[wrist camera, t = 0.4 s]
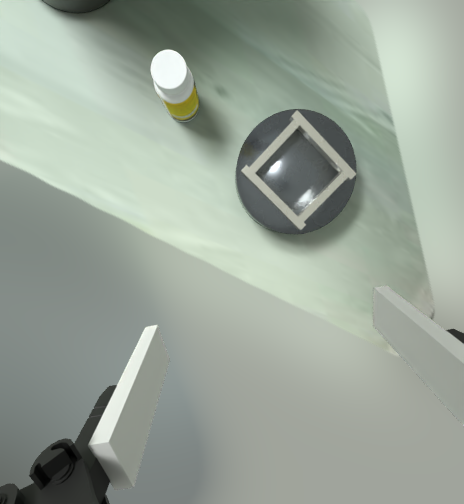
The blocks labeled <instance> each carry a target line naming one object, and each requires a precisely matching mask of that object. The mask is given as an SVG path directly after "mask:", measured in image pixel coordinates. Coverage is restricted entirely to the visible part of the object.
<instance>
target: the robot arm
mask: <svg viewBox="0 0 464 504" xmlns="http://www.w3.org/2000/svg"><path fill="white" fill-rule="evenodd" d="M43 1H44V2H45V3H47V4H49V5H50V6H52V7H54V8H57V9H59V10H62V11H66V12H74V13H81V12H88V11H92V10H95V9H97V8H99V7H101V6H103V5H104V4H106V3H107V2H108V1H110V0H43ZM373 327H374V328H375V329H376V330H377V331H378V332H379V333H380V334H381V335H382V337H383V338H384V339H385V340H386V341H387V342H388V343H389V344H390V345H391V346H392V348H393V349H394V350H395V351H396V352H397V353H398V354H399V355H400V356H401V358H402V359H403V360H404V361H405V362H406V363H407V364H408V365H409V366H410V367H411V369H412V370H413V371H414V372H415V373H416V374H417V375H418V376H419V377H420V378H421V380H422V381H423V382H424V383H425V384H426V385H427V386H428V387H429V389H430V390H431V391H432V392H433V393H434V394H435V395H436V396H437V397H438V398H439V400H440V401H441V402H442V403H443V404H444V405H445V406H446V407H447V408H448V410H449V411H450V412H451V413H452V414H453V415H454V416H455V417H456V418H457V419H458V421H459V422H460V423H461V424H462V425H463V426H464V333H462V332H459V331H457V330H455V329H450V330H445V329H443V328H442V327H440V326H439V325H438V324H437V323H436V322H434V321H433V320H432V319H430V318H429V317H428V316H426V315H425V314H424V313H422V312H421V311H420V310H418V309H417V308H416V307H414V306H413V305H412V304H411V303H409V302H408V301H407V300H405V299H404V298H403V297H401V296H400V295H399V294H397V293H396V292H395V291H393V290H392V289H391V288H389V287H388V286H387V285H385V286H379V287H374V288H373ZM169 361H170V358H169V355H168V353H167V350H166V347H165V344H164V342H163V338H162V336H161V333H160V330H159V327H158V325H155V326H149V327H146V328H145V330H144V331H143V333H142V336H141V338H140V340H139V342H138V344H137V346H136V348H135V350H134V352H133V354H132V356H131V358H130V360H129V363H128V364H127V366H126V368H125V371H124V372H123V374H122V376H121V379H120V381H119V383H118V385H113V386H109V387H108V388H107V389H106V390H105V391H104V392H103V393H102V395H101V396H100V397H99V399H98V401H97V403H96V405H95V406H94V409H93V410H92V412H91V414H90V416H89V418H88V419H87V421H86V423H85V425H84V427H83V428H82V430H81V432H80V434H79V436H78V438H77V440H76V441H75V443H73V442H72V441H71V439H62V440H58V441H57V442H55V443H53V444H51V445H50V446H49V447H47V448H46V449H45V450H44V451H43V452H42V453H41V454H40V455H39V456H38V458H37V459H36V460H35V462H34V464H33V465H32V467H31V470H30V475H29V476H30V477H31V479H32V480H33V481H34V483H33V484H31V485H29V486H27V487H25V488H23V489H21V490H19V489H18V488H17V486H16V485H15V484H6V485H4V486H1V487H0V504H109V501H108V498H107V496H106V495H105V493H106V491H107V488H108V485H109V482H110V483H111V485H112V486H113V488H114V490H121V489H128V488H133V487H134V485H135V481H136V478H137V474H138V471H139V467H140V463H141V460H142V456H143V453H144V449H145V446H146V442H147V439H148V435H149V431H150V428H151V424H152V421H153V418H154V414H155V411H156V407H157V403H158V400H159V396H160V393H161V389H162V386H163V382H164V379H165V375H166V372H167V368H168V365H169Z"/></svg>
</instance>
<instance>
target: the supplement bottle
mask: <svg viewBox="0 0 464 504" xmlns="http://www.w3.org/2000/svg"><path fill="white" fill-rule="evenodd" d="M151 75H152V78H153V80H154V87H155V90H156V92H157V94H158V96H159V97H160V99H161V101H162V103H163V104H164V106H165V108H166V110H167V111H168V113H169V115H170V116H171V117H172V118H173V119H175V120H177V121H179V122H188V121H190V120H192V119H193V118H194V117H195V116H196V115H197V113H198V111H199V98H198V94H197V90H196V86H195V82H194V78H193V75H192V73H191V71H190V69H189V68H188V67H187V65H186V62H185V60H184V58H183V57H182V56H181V55H180V54H179V53H178V52H176V51H173V50H163V51H160V52H159V53H157V54H156V55H155V57H154V58H153V60H152V63H151Z"/></svg>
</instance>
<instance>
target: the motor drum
mask: <svg viewBox="0 0 464 504" xmlns="http://www.w3.org/2000/svg"><path fill="white" fill-rule="evenodd" d="M355 179H356V160H355V155H354V151H353V148H352V145H351V143H350V141H349V139H348V137H347V136H346V134H345V133H344V132H343V130H342V129H341V128H340V127H339V126H338V125H337V124H336V123H335V122H334V121H332V120H331V119H329V118H328V117H326V116H324V115H322V114H320V113H317V112H314V111H310V110H304V109H294V110H287V111H282V112H279V113H277V114H274V115H272V116H270V117H268V118H267V119H265V120H264V121H262V122H261V123H260V124H259V125H258V126H256V127H255V128H254V129H253V131H252V132H251V133H250V134H249V136H248V137H247V139H246V140H245V142H244V144H243V146H242V148H241V150H240V154H239V157H238V161H237V167H236V175H235V182H236V190H237V194H238V197H239V200H240V202H241V204H242V206H243V208H244V209H245V211H246V212H247V213H248V214H249V216H250V217H251V218H252V219H254V220H255V221H256V222H257V223H259V224H260V225H262V226H264V227H266V228H268V229H271V230H274V231H277V232H281V233H286V234H302V233H307V232H311V231H314V230H317V229H319V228H321V227H323V226H325V225H326V224H328V223H329V222H331V221H332V220H333V219H334V218H335V217H336V216H337V215H338V214H339V213H340V212H341V211H342V210H343V208H344V207H345V205H346V204H347V202H348V200H349V198H350V196H351V194H352V191H353V188H354V184H355Z"/></svg>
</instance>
